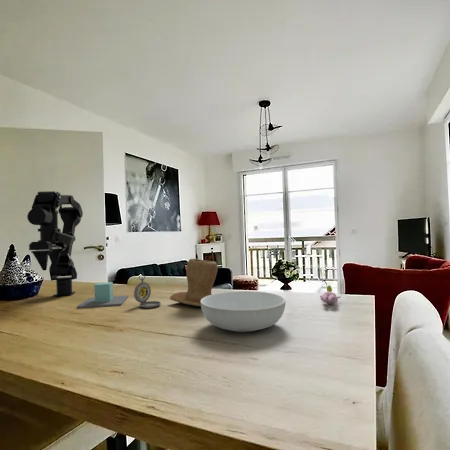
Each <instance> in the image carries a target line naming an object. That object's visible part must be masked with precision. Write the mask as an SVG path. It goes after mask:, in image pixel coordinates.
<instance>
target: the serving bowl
mask: <svg viewBox="0 0 450 450" xmlns="http://www.w3.org/2000/svg"><path fill="white" fill-rule="evenodd" d="M286 302H287V301H286V298H284V297H283V296H282V295H279V294H276V293H272V292H266V291H253V290H252V291H251V290H250V291H249V290H246V291H245V290H241V291H226V292H225V291H224V292H218V293H213V294H212V293H211V295H209V296H206V297H204V298H202V299H201V301H200V303H201V306H200V308H201V311H202V312H201V313H202V314H203V317H204V318H205V319H206V320H207V321H208V322H209V323H210V324H211V325H213V326H215V327H217V328H220V329H222V330H226V331H232V332H234V333H235V332H236V333H251V332H254V331H259V330H264V329H266V328H269V327H271V326H274V325H275V324H276V323H278V322H279V320H280V319H281V318H282V316H283V315H284V312H285V309H286Z"/></svg>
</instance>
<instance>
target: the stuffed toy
mask: <svg viewBox="0 0 450 450" xmlns="http://www.w3.org/2000/svg"><path fill="white" fill-rule="evenodd" d="M319 297H320V300H321V301H322V302H323V303H326V304H327V305H332V304H335V303H337V302H338V300H339V299H340V298H341V296H337V294H336V293H334V292H333V288H332V286H331V285H330V284H329V285H328V286H327V288H326V291H325V292H324V293H323V294H321V295H320V296H319Z"/></svg>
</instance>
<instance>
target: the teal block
mask: <svg viewBox="0 0 450 450" xmlns="http://www.w3.org/2000/svg"><path fill="white" fill-rule="evenodd" d="M113 284H114V283H113V281H105V282H97V283H95V284H94V285H93V286H94V297H95V302H110V301H111V300H112V299H113V296H114V285H113Z"/></svg>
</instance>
